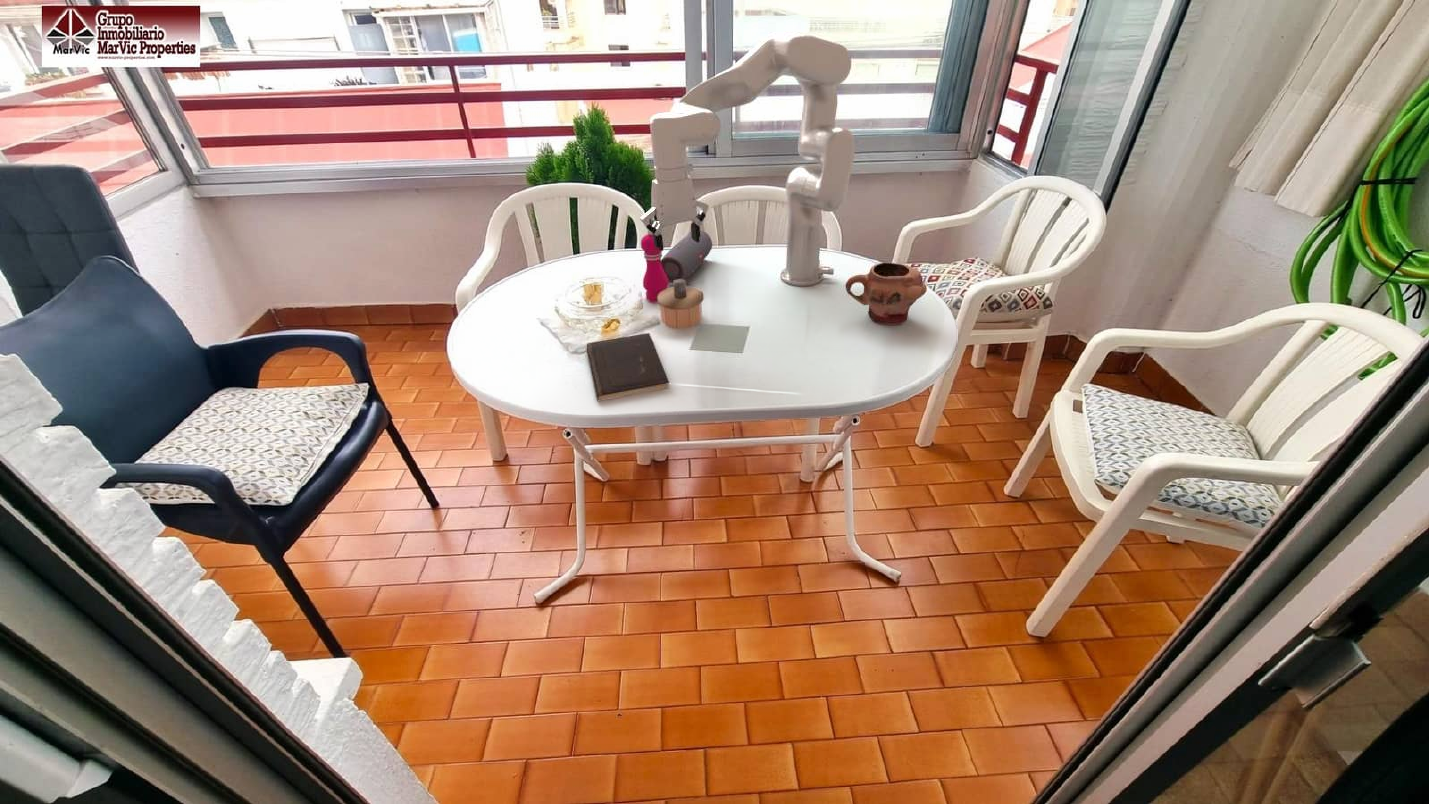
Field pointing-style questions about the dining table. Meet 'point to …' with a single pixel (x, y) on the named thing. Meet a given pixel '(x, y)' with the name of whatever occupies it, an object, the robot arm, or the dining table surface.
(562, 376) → the dining table surface
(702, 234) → the bluetooth speaker
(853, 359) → the dining table surface
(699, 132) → the robot arm
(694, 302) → the lid
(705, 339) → the mat
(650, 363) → the hardcover book
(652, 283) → the pepper mill
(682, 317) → the bowl
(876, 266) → the terracotta clay mug
